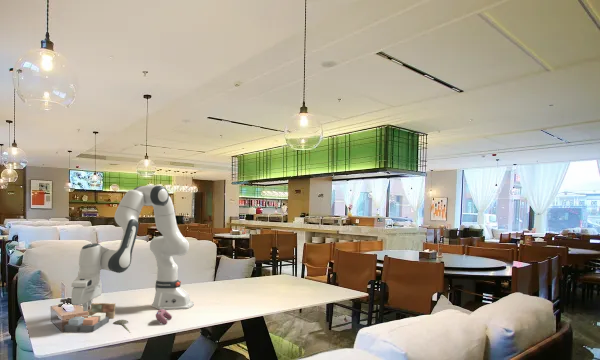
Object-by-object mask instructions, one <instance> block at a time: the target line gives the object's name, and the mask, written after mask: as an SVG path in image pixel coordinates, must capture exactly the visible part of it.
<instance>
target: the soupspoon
mask: <svg viewBox="0 0 600 360" xmlns="http://www.w3.org/2000/svg"><path fill="white" fill-rule="evenodd" d="M127 323H129V321H128V320H126V319H117V320H115V321H114V322H113V323H112V324H114V325H121V326H123V328H124V329H125V330H126V331H127V332H128V333H129V334H131V333H132V332H130V329H129V328H128V327H127V326H126V324H127Z"/></svg>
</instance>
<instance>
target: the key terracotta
mask: <svg viewBox="0 0 600 360" xmlns="http://www.w3.org/2000/svg"><path fill="white" fill-rule="evenodd" d="M96 323H98V317H88V318H86V319H84V320H83V325H94V324H96Z"/></svg>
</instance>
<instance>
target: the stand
mask: <svg viewBox="0 0 600 360" xmlns="http://www.w3.org/2000/svg"><path fill="white" fill-rule="evenodd" d="M96 313H106V317H109V319H115V315H116V314H115V313H116V303H114V302H112V303H111V302H109V303H106V302H105V303H103V302H102V303H101V302H99V303H98V302H92V304H91V308H90V313H89V314H90V315H89V316H92V315H94V314H96Z"/></svg>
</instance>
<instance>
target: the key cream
mask: <svg viewBox="0 0 600 360" xmlns="http://www.w3.org/2000/svg"><path fill="white" fill-rule="evenodd" d="M91 317H98V321H101V320H103V319H104V318H105V317H106V313H96V314H94V315H92V316H91Z"/></svg>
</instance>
